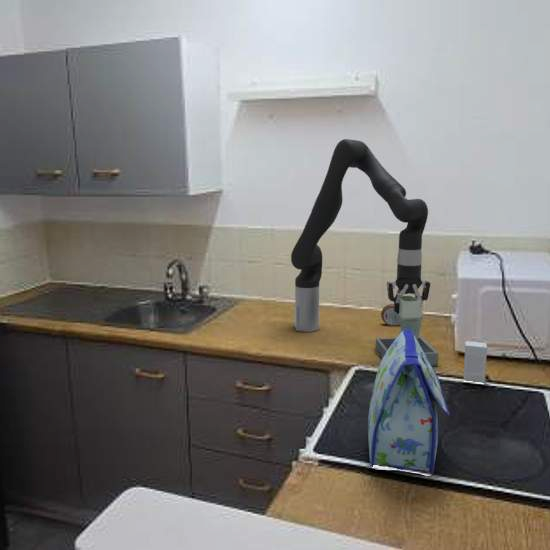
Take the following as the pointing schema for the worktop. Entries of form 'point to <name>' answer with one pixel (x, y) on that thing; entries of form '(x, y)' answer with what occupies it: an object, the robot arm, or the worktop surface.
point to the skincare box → (475, 361)
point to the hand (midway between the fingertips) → (407, 312)
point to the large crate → (429, 351)
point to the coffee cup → (412, 325)
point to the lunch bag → (405, 408)
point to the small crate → (409, 308)
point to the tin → (390, 316)
